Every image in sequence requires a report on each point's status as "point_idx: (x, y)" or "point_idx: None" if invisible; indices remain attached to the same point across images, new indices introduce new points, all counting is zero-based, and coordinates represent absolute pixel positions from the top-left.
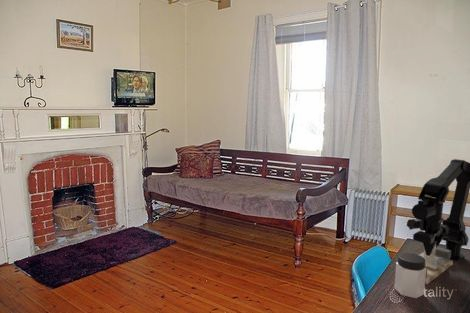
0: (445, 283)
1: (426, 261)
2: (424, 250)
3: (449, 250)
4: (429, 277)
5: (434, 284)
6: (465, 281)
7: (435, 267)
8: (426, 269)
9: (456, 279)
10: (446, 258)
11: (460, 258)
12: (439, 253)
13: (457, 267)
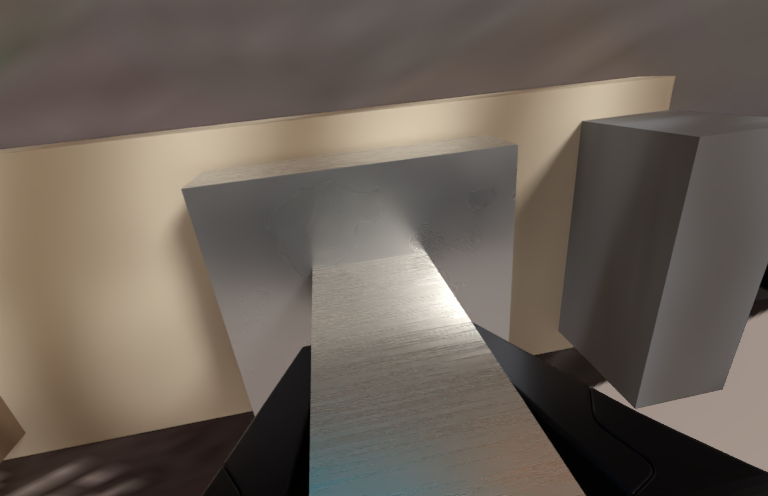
0: (202, 462)
1: (245, 345)
2: (311, 351)
3: (713, 381)
4: (66, 438)
5: (91, 446)
6: None
7: None
8: (207, 334)
9: None
10: (581, 345)
11: (758, 295)
12: (616, 300)
13: (568, 358)
